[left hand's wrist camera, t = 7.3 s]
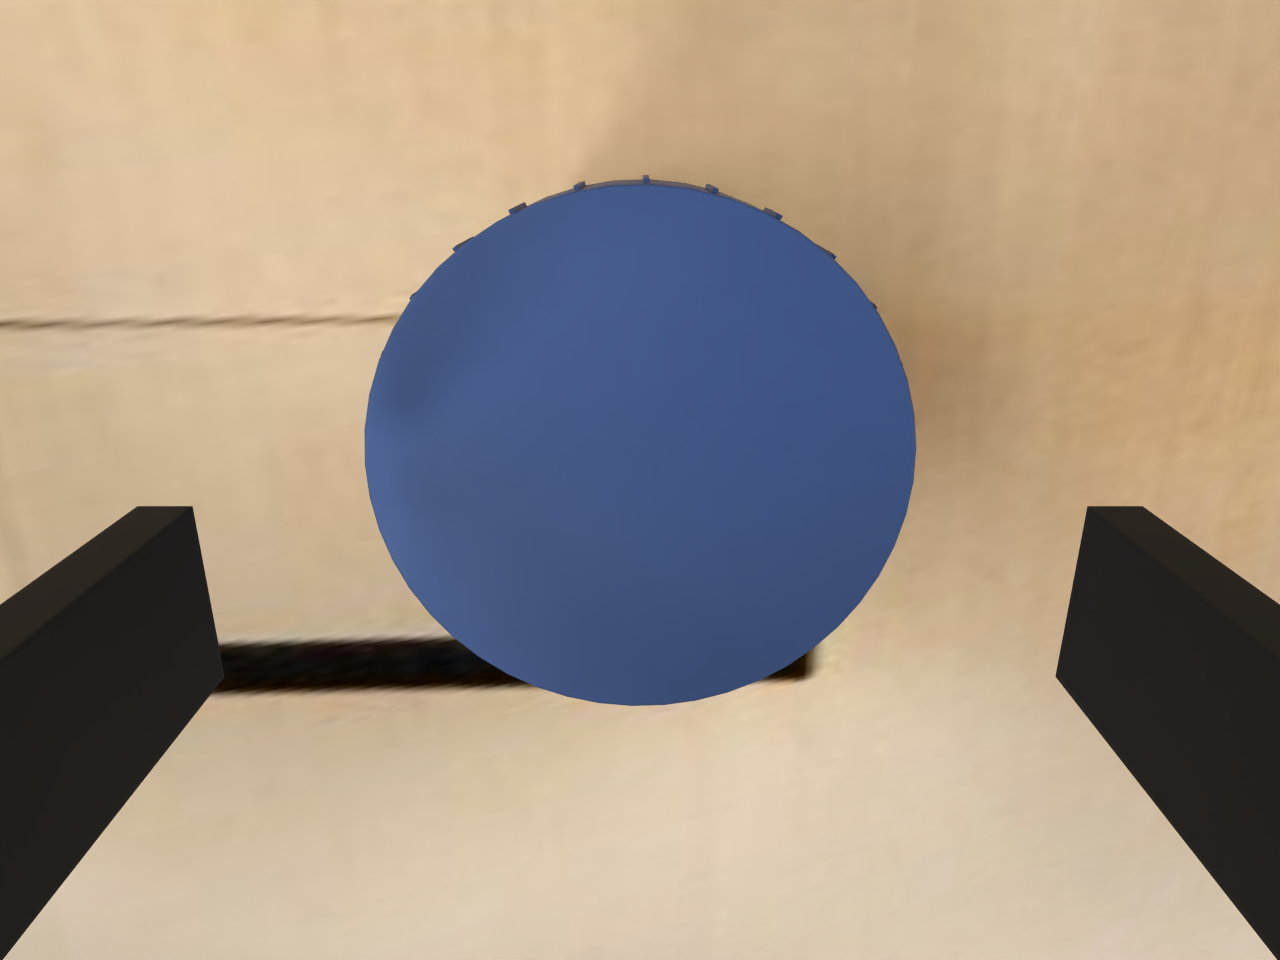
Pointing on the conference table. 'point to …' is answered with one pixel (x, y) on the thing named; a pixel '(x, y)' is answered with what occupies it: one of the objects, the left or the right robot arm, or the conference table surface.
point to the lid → (640, 443)
